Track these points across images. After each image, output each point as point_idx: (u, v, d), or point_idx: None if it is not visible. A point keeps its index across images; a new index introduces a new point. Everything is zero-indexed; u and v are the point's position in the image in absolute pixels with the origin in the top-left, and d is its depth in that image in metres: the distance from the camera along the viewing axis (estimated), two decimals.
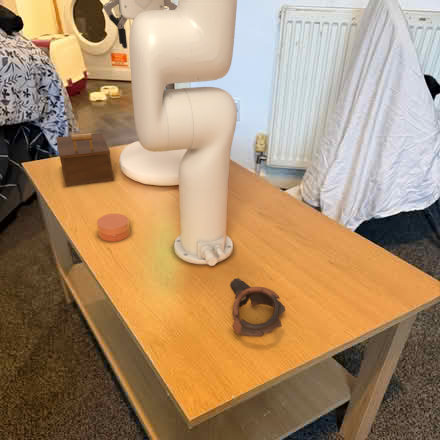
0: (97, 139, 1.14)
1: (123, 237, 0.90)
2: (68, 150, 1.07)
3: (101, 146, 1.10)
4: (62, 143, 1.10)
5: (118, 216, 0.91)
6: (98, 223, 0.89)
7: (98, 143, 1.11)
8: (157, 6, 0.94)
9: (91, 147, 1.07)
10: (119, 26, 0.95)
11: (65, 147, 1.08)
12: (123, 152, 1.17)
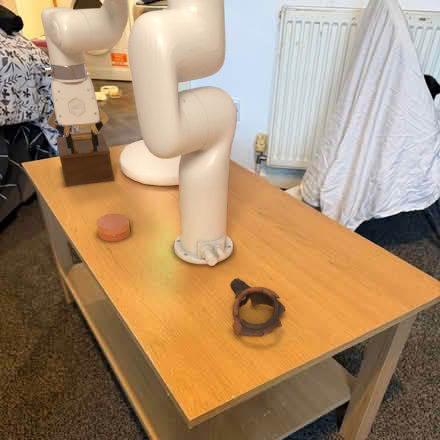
0: None
1: (123, 237, 0.90)
2: (68, 150, 1.07)
3: (101, 146, 1.10)
4: (62, 143, 1.10)
5: (118, 216, 0.91)
6: (98, 223, 0.89)
7: None
8: (91, 113, 1.00)
9: (91, 147, 1.07)
10: (66, 135, 1.02)
11: (65, 147, 1.08)
12: (123, 152, 1.17)
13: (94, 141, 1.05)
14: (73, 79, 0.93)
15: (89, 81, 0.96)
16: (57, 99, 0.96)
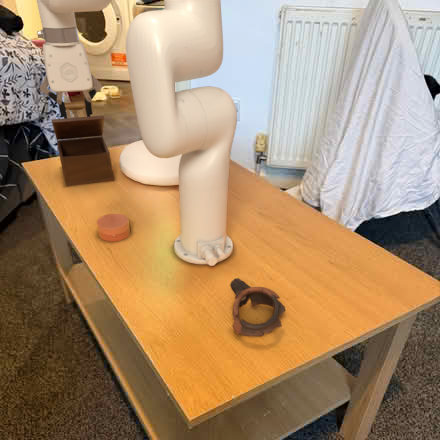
0: None
1: (123, 237, 0.90)
2: None
3: None
4: None
5: (118, 216, 0.91)
6: (98, 223, 0.89)
7: None
8: (84, 79, 0.99)
9: (85, 116, 1.04)
10: (59, 102, 1.02)
11: None
12: (123, 152, 1.17)
13: (88, 109, 1.04)
14: (65, 42, 0.93)
15: (81, 45, 0.96)
16: (49, 64, 0.95)
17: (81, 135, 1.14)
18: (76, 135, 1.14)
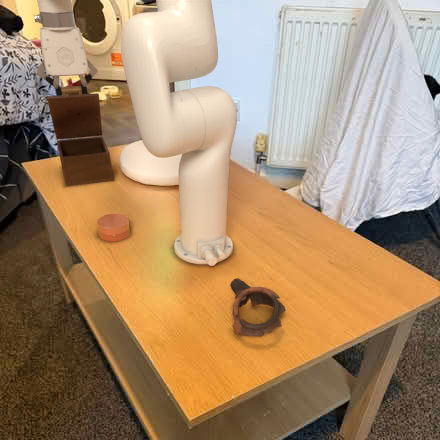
0: None
1: (123, 237, 0.90)
2: None
3: None
4: None
5: (118, 216, 0.91)
6: (98, 223, 0.89)
7: None
8: (80, 64, 1.02)
9: None
10: (55, 86, 1.04)
11: None
12: (123, 152, 1.17)
13: None
14: (61, 27, 0.95)
15: (77, 30, 0.98)
16: (46, 48, 0.98)
17: (81, 131, 1.14)
18: (75, 131, 1.14)
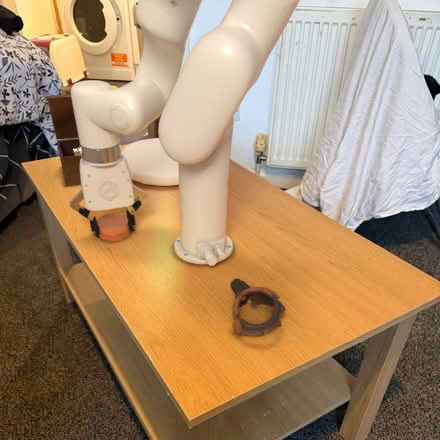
0: None
1: (123, 237, 0.90)
2: None
3: None
4: None
5: (118, 216, 0.91)
6: (98, 223, 0.89)
7: None
8: (126, 196, 0.85)
9: None
10: (90, 219, 0.87)
11: None
12: (123, 152, 1.17)
13: (131, 222, 0.90)
14: (107, 162, 0.78)
15: (125, 162, 0.81)
16: (87, 184, 0.81)
17: None
18: (75, 131, 1.14)
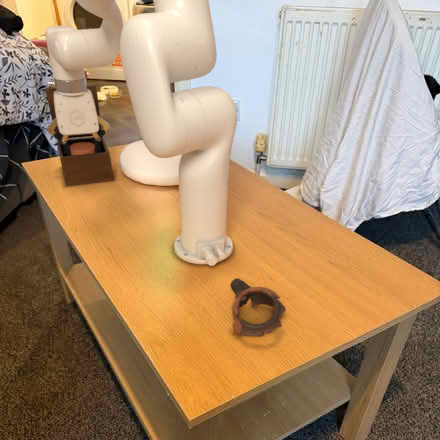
0: None
1: None
2: None
3: None
4: None
5: (87, 143, 1.13)
6: (70, 147, 1.10)
7: None
8: (91, 124, 1.06)
9: None
10: (63, 142, 1.08)
11: None
12: (123, 152, 1.17)
13: (97, 148, 1.12)
14: (74, 93, 1.00)
15: (89, 94, 1.03)
16: (59, 111, 1.02)
17: None
18: None
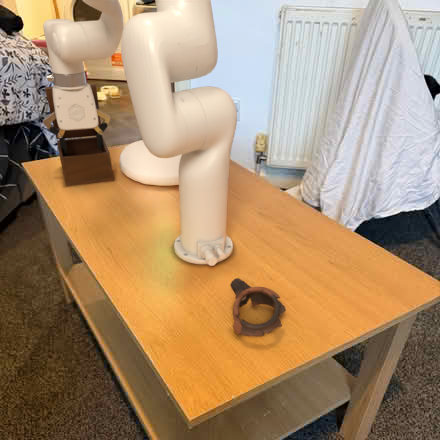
0: None
1: None
2: None
3: None
4: None
5: None
6: None
7: None
8: (91, 118, 1.05)
9: None
10: (59, 136, 1.06)
11: None
12: (123, 152, 1.17)
13: (99, 141, 1.10)
14: (73, 86, 0.99)
15: (88, 88, 1.01)
16: (58, 106, 1.01)
17: (80, 129, 1.14)
18: None
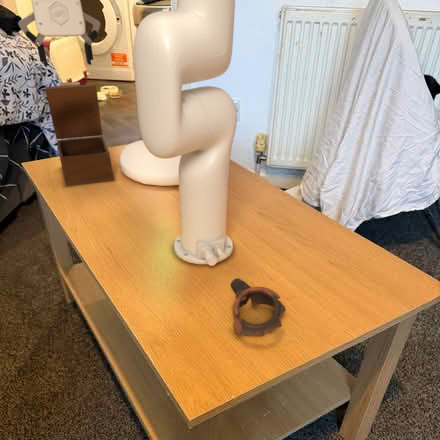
0: None
1: None
2: None
3: None
4: None
5: None
6: None
7: None
8: (76, 22, 0.89)
9: None
10: (37, 43, 0.90)
11: None
12: (123, 152, 1.17)
13: (88, 53, 0.94)
14: None
15: None
16: (37, 3, 0.85)
17: (80, 129, 1.14)
18: (75, 129, 1.14)
